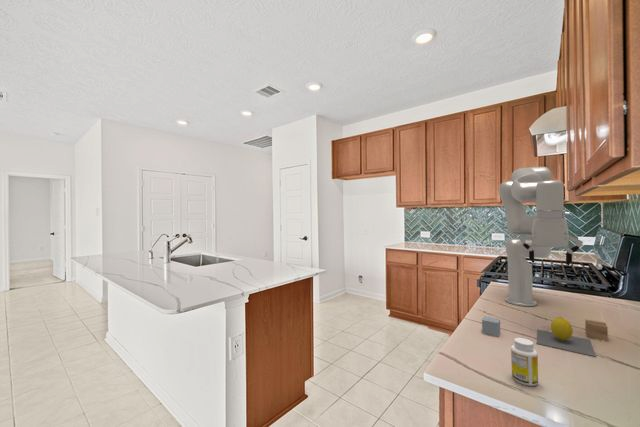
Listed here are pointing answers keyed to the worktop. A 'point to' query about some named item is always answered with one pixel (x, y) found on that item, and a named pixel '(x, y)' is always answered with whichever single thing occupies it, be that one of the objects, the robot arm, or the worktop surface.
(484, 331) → the slate block
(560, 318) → the lemon
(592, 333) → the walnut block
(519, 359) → the supplement bottle
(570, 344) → the mat
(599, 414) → the worktop surface
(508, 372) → the worktop surface
